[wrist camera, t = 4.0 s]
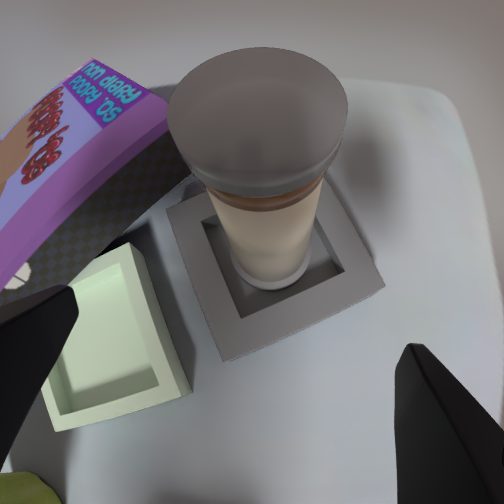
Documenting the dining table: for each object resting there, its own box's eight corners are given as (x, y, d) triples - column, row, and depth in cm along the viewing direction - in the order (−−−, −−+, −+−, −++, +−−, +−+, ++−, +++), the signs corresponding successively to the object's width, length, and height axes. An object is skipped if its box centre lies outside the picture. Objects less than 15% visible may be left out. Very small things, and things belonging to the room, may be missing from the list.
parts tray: (192, 392, 19) (181, 396, 16) (74, 427, 18) (55, 432, 16) (142, 254, 22) (128, 242, 20) (40, 303, 21) (21, 297, 19)
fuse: (323, 271, 19) (383, 133, 7) (250, 304, 19) (198, 204, 7) (289, 206, 21) (293, 34, 9) (221, 235, 21) (151, 81, 8)
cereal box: (-67, 223, 20) (94, 56, 24) (-38, 243, 24) (113, 90, 28) (-62, 365, 12) (181, 107, 16) (-15, 379, 17) (206, 160, 20)
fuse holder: (374, 294, 20) (385, 285, 17) (230, 361, 19) (223, 361, 17) (305, 171, 23) (307, 150, 21) (176, 224, 22) (165, 209, 20)
